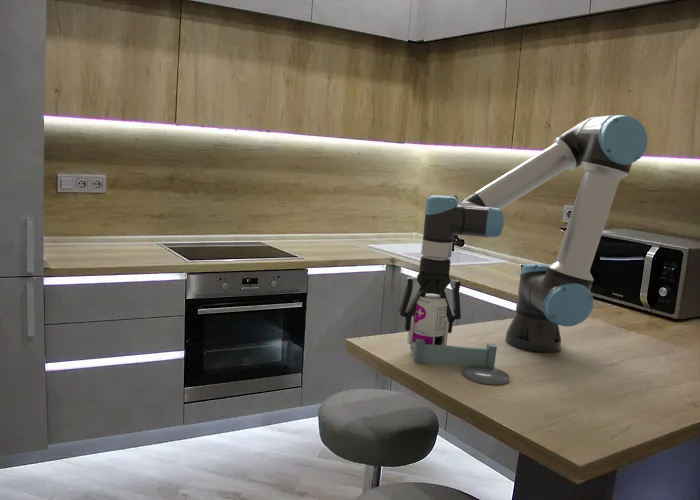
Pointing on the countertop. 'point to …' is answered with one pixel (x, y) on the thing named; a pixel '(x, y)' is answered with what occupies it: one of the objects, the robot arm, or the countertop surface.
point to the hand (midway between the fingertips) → (426, 343)
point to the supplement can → (429, 320)
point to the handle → (454, 354)
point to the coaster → (485, 375)
